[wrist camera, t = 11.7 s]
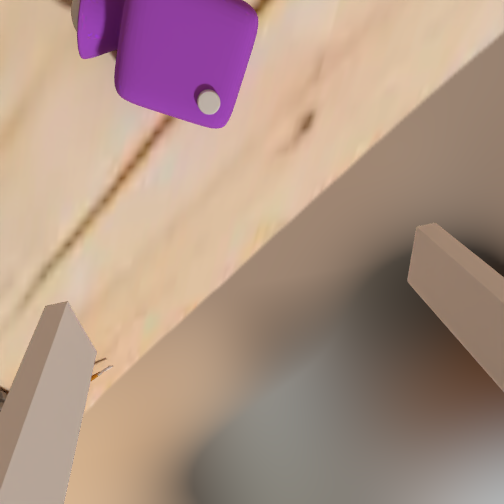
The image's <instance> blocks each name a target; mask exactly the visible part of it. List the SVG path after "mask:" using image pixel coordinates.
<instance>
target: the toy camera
mask: <svg viewBox="0 0 504 504" xmlns="http://www.w3.org/2000/svg"><path fill="white" fill-rule="evenodd" d="M71 16H72V21H73V24H74V27H75V29H76V31H77V41H78V50H79V54H80V56H81V58H83V59H88V58H93V57H96V56H99V55H102V54H105V53H108V52H110V51H114V50H117V57H116V65H115V76H114V79H115V87H116V90H117V92H118V94H119V95H120V96H121V97H122V98H124V99H125V100H127V101H129V102H131V103H133V104H136V105H139V106H142V107H145V108H148V109H151V110H154V111H157V112H160V113H163V114H166V115H169V116H173V117H176V118H179V119H182V120H185V121H188V122H191V123H195V124H198V125H201V126H205V127H209V128H222V127H223V126H225V125H226V123H227V122H228V120H229V118H230V116H231V114H232V111H233V108H234V105H235V102H236V99H237V96H238V93H239V90H240V86H241V83H242V80H243V77H244V74H245V71H246V67H247V64H248V61H249V58H250V55H251V52H252V48H253V45H254V42H255V38H256V34H257V29H258V16H257V14H256V12H255V10H254V9H253V8H252V7H251V6H250V5H249V4H248V3H246V2H244V1H243V0H72V5H71Z"/></svg>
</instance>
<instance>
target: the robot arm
mask: <svg viewBox="0 0 504 504" xmlns="http://www.w3.org/2000/svg"><path fill="white" fill-rule="evenodd" d="M407 281H408V283H409V284H410V285H411V286H412V287H413V288H414V289H415V291H416V292H417V293H418V294H419V295H420V297H421V298H422V299H423V300H424V301H425V302H426V303H427V305H428V306H429V307H430V308H431V309H432V310H433V311H434V313H436V315H437V316H438V317H439V318H440V319H441V321H442V322H443V323H444V324H445V325H446V326H447V327H448V329H449V330H450V331H451V332H452V333H453V334H454V336H456V338H457V339H458V340H459V341H460V342H461V344H462V345H463V346H464V347H465V348H466V349H467V350H468V351H469V353H470V354H471V355H472V356H473V357H474V358H475V360H476V361H477V362H478V363H479V364H480V365H481V366H482V368H483V369H484V370H485V371H486V372H487V373H488V374H489V376H490V377H491V378H492V379H493V380H494V381H495V382H496V383H497V385H498V386H499V387H500V388H501V389H502V390H503V392H504V277H502V276H501V275H500V274H499V273H497V272H496V271H495V270H494V269H492V268H491V267H490V266H489V265H487V264H486V263H485V262H484V261H482V260H481V259H480V258H478V257H477V256H476V255H475V254H474V253H472V252H471V251H470V250H469V249H467V248H466V247H465V246H464V245H462V244H461V243H460V242H459V241H457V240H456V239H455V238H454V237H452V236H451V235H450V234H449V233H447V232H446V231H445V230H444V229H443V228H441V227H440V226H439V225H437V224H436V223H431V224H426V225H422V226H417V227H416V232H415V238H414V244H413V250H412V256H411V262H410V268H409V273H408V279H407ZM96 354H97V351H96V349H95V348H94V346H93V344H92V343H91V341H90V339H89V337H88V336H87V334H86V332H85V330H84V329H83V327H82V325H81V324H80V322H79V320H78V318H77V317H76V315H75V313H74V312H73V310H72V308H71V306H70V305H69V303H68V301H67V302H62V303H57V304H53V305H48V306H45V308H44V310H43V313H42V315H41V318H40V320H39V322H38V325H37V327H36V329H35V332H34V334H33V336H32V339H31V341H30V343H29V346H28V348H27V350H26V353H25V355H24V357H23V360H22V362H21V364H20V367H19V369H18V371H17V374H16V376H15V379H14V381H13V383H12V386H11V388H10V390H9V393H8V395H7V397H6V400H5V402H4V404H3V407H2V409H1V411H0V504H64V500H65V496H66V491H67V487H68V482H69V477H70V473H71V468H72V464H73V459H74V455H75V449H76V445H77V441H78V436H79V432H80V427H81V422H82V418H83V413H84V409H85V404H86V399H87V395H88V390H89V386H90V381H91V376H92V372H93V367H94V363H95V358H96Z"/></svg>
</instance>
